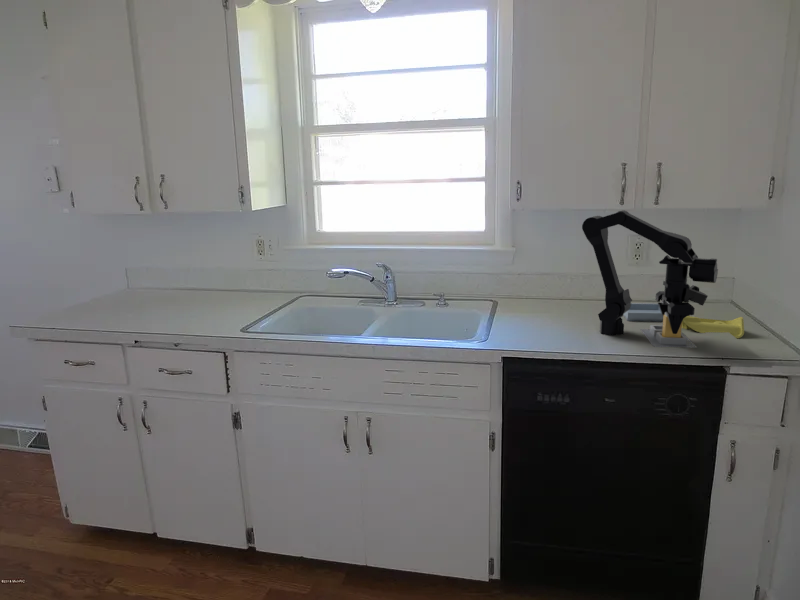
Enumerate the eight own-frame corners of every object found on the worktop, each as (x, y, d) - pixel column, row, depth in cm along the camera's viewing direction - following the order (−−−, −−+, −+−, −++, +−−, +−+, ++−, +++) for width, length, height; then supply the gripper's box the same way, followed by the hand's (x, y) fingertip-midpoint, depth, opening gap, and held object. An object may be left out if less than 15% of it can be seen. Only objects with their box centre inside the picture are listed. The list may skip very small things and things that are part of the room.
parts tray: (627, 320, 198) (628, 312, 198) (620, 310, 212) (620, 303, 211) (670, 321, 196) (670, 313, 195) (659, 311, 209) (660, 303, 208)
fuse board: (653, 351, 167) (654, 339, 166) (639, 333, 184) (640, 323, 183) (697, 352, 164) (698, 341, 164) (679, 334, 182) (680, 323, 181)
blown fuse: (680, 343, 168) (682, 315, 166) (664, 343, 169) (666, 314, 167) (677, 340, 171) (679, 312, 169) (661, 339, 172) (663, 312, 170)
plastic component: (731, 321, 187) (744, 315, 177) (731, 343, 185) (744, 339, 175) (667, 315, 190) (677, 309, 180) (667, 337, 188) (677, 332, 179)
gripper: (717, 286, 155) (711, 340, 159) (695, 273, 173) (691, 322, 177) (673, 286, 157) (668, 339, 161) (657, 273, 175) (653, 321, 179)
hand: (671, 330), depth 169 cm, fingers open, 6 cm apart
